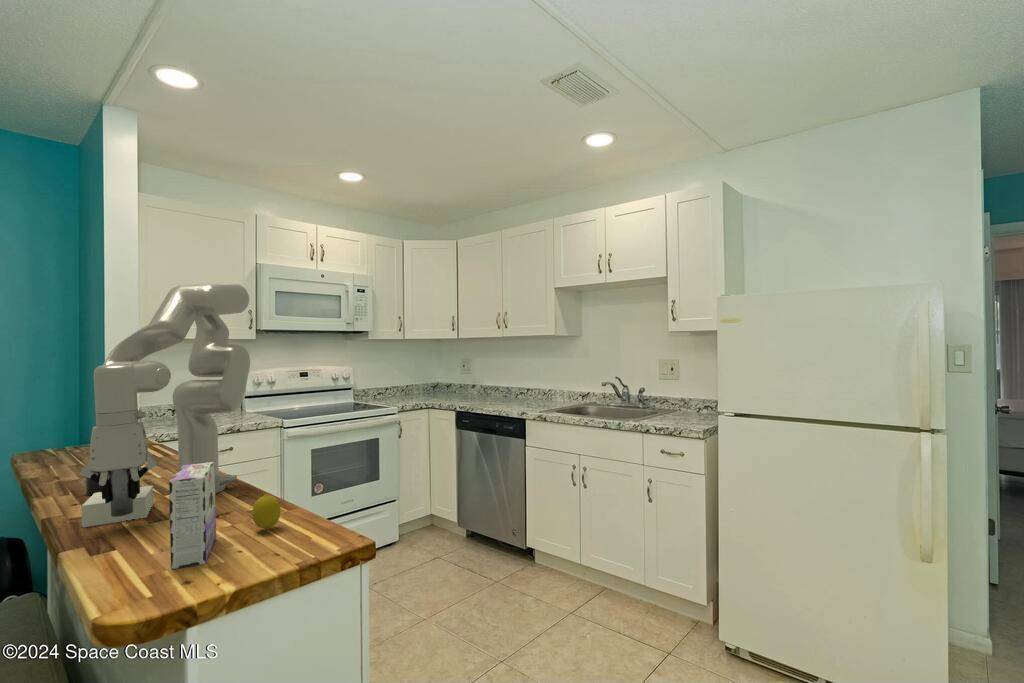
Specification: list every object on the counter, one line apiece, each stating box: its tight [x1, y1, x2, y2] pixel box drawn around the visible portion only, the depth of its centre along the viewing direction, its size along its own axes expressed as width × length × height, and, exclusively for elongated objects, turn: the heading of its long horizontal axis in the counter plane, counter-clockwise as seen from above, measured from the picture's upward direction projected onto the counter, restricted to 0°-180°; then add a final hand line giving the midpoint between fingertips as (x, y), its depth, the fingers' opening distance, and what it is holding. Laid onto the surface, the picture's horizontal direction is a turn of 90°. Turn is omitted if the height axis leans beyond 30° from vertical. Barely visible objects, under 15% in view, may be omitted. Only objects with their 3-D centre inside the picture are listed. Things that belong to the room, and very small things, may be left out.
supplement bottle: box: [85, 456, 102, 496], centre depth 145 cm, size 7×7×12 cm
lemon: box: [252, 493, 281, 531], centre depth 111 cm, size 6×6×8 cm
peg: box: [109, 469, 133, 517], centre depth 115 cm, size 4×4×12 cm
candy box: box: [168, 462, 217, 570], centre depth 100 cm, size 14×6×16 cm, turn 23°
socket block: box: [81, 485, 154, 528], centre depth 124 cm, size 12×12×5 cm
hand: (121, 498), depth 115 cm, fingers closed on peg, 4 cm apart
